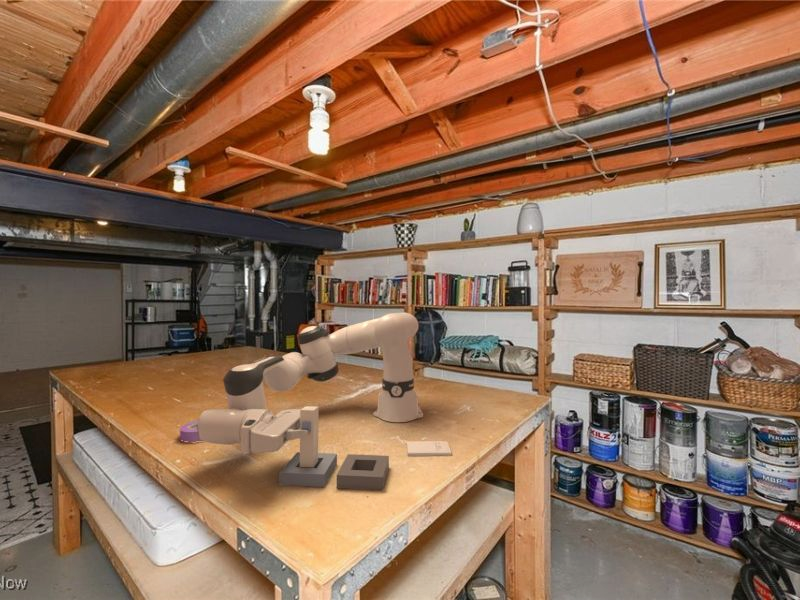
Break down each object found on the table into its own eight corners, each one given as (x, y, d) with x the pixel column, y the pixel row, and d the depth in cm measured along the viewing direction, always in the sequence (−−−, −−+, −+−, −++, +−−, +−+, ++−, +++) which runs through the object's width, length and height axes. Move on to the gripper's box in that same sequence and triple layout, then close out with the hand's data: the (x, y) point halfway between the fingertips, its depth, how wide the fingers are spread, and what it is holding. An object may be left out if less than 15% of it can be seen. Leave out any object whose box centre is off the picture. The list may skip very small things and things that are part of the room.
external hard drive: (406, 446, 107) (447, 445, 107) (407, 458, 99) (451, 457, 99) (406, 440, 107) (447, 440, 107) (407, 452, 99) (451, 451, 99)
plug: (304, 460, 90) (305, 406, 91) (318, 461, 90) (318, 406, 91) (298, 468, 86) (299, 410, 87) (312, 468, 86) (312, 411, 86)
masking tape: (177, 446, 106) (177, 434, 106) (183, 433, 117) (183, 421, 117) (220, 440, 111) (220, 428, 111) (222, 427, 121) (222, 416, 121)
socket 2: (347, 465, 93) (347, 454, 93) (388, 467, 92) (388, 455, 92) (336, 487, 82) (336, 475, 82) (382, 490, 81) (382, 477, 81)
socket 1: (297, 463, 95) (297, 452, 95) (336, 464, 94) (336, 453, 94) (279, 484, 84) (279, 472, 84) (324, 487, 83) (324, 474, 83)
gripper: (278, 424, 100) (325, 426, 99) (238, 457, 80) (296, 459, 78) (278, 402, 100) (325, 404, 99) (237, 429, 80) (296, 431, 78)
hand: (312, 428), depth 88 cm, fingers closed on plug, 4 cm apart
